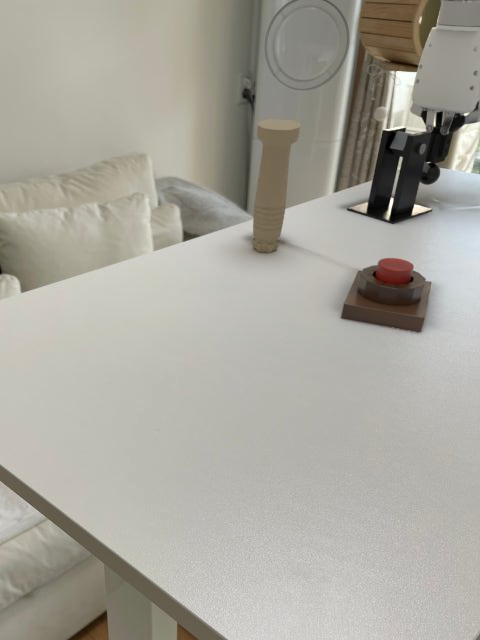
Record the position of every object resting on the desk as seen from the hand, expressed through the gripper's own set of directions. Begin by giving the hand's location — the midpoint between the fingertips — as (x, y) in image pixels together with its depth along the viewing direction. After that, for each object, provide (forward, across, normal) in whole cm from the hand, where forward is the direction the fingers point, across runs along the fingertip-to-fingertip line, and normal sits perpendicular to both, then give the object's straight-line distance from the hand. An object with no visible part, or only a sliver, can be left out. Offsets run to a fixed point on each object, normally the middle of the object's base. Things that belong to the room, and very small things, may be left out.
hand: (434, 161), depth 97 cm
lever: (+1, 0, +5) cm, 5 cm away
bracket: (+7, 0, +9) cm, 11 cm away
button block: (+6, -18, +36) cm, 41 cm away
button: (+3, -18, +36) cm, 41 cm away
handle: (+7, +2, +34) cm, 35 cm away
